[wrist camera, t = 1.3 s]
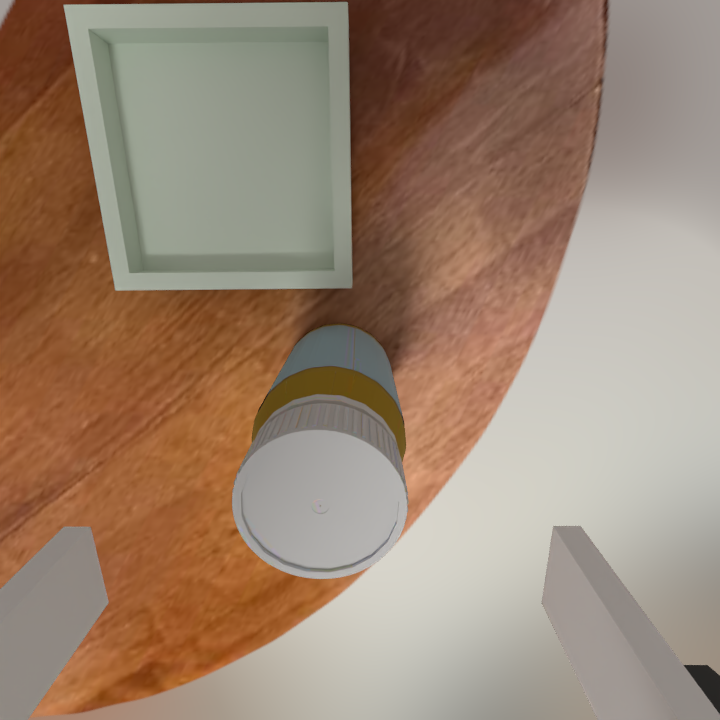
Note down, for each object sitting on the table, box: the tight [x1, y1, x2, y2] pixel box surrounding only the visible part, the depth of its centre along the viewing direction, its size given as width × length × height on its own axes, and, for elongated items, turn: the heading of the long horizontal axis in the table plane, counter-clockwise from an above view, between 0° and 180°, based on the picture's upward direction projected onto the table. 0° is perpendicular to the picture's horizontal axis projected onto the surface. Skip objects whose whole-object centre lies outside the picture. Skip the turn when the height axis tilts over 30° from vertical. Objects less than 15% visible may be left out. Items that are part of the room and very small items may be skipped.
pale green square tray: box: [64, 2, 353, 290], centre depth 24 cm, size 14×14×2 cm
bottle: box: [232, 324, 408, 579], centre depth 21 cm, size 7×7×15 cm
